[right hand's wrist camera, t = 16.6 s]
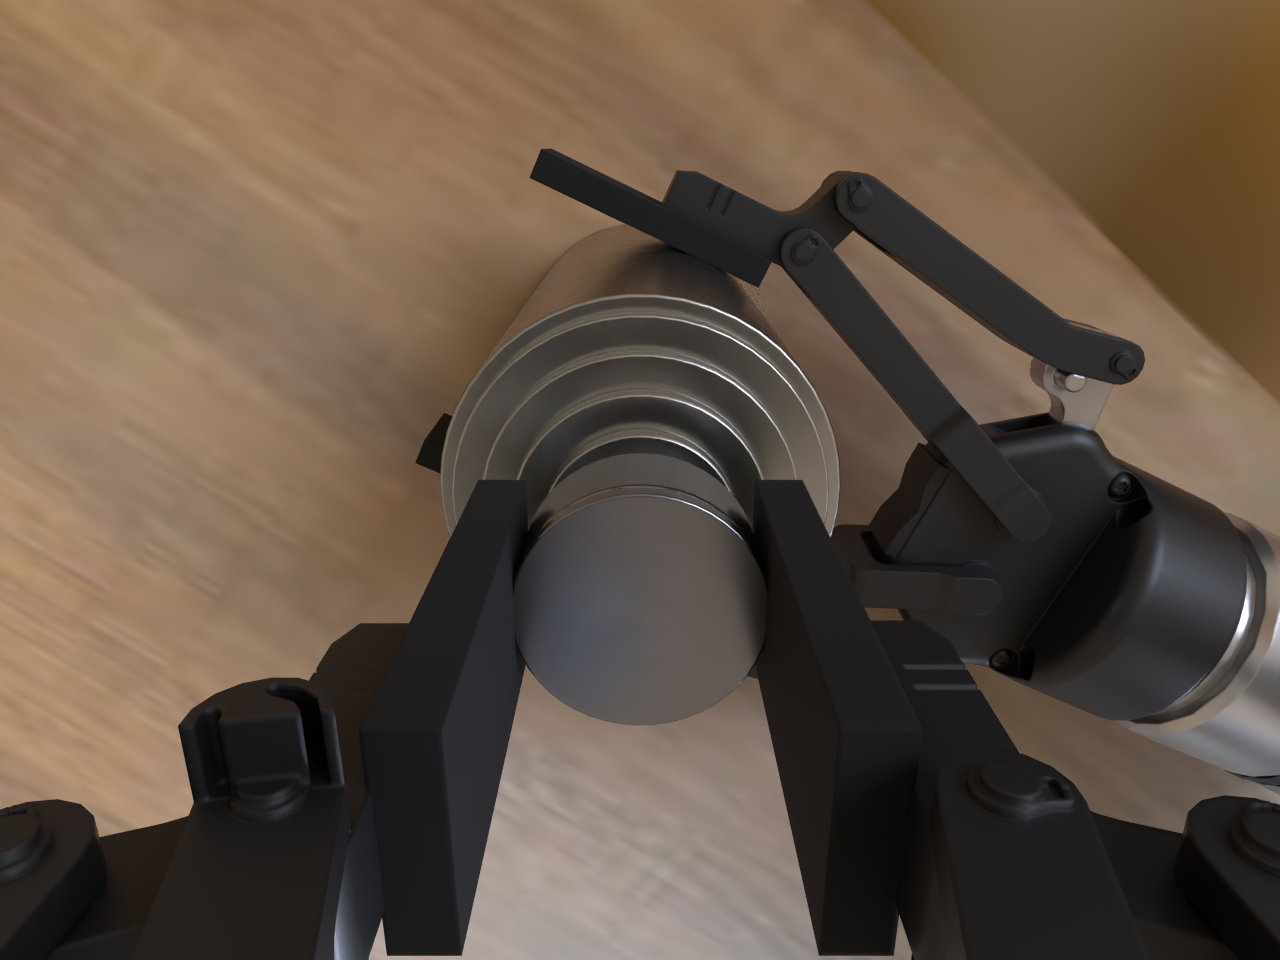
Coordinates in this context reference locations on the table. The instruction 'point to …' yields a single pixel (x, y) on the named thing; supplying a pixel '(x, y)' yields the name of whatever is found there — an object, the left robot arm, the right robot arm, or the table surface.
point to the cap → (640, 591)
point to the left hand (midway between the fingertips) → (483, 307)
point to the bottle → (639, 382)
